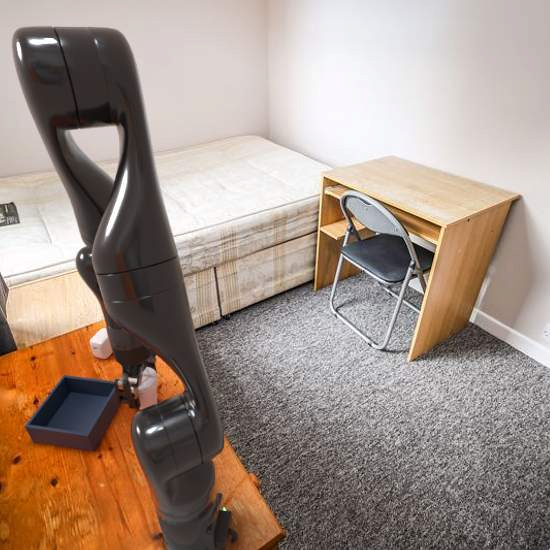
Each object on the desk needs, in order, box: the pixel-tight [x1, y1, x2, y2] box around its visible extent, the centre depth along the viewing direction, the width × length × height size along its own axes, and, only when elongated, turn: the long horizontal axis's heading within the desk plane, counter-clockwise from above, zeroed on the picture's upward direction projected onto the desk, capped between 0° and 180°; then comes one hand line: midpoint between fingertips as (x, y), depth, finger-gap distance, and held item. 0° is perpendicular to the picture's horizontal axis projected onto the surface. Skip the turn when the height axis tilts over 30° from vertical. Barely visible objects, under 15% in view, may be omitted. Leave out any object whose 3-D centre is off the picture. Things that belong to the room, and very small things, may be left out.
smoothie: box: [128, 367, 159, 411], centre depth 82 cm, size 6×6×14 cm
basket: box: [23, 374, 122, 452], centre depth 81 cm, size 13×13×5 cm
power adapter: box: [89, 327, 113, 360], centre depth 100 cm, size 11×5×6 cm, turn 164°
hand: (144, 390), depth 82 cm, fingers open, 8 cm apart
